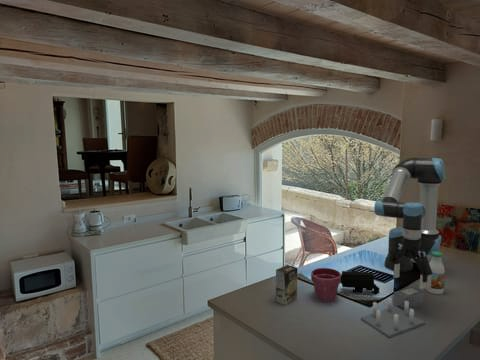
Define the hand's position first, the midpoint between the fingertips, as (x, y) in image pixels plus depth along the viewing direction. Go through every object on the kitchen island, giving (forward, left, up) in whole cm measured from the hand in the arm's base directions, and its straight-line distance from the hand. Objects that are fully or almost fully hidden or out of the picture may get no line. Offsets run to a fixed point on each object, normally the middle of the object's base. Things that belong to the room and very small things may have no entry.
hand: (409, 282), depth 158 cm
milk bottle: (-24, -4, -12) cm, 27 cm away
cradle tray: (+17, +6, -12) cm, 21 cm away
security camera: (+9, -21, -12) cm, 26 cm away
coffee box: (+46, -31, -12) cm, 57 cm away
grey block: (0, 0, -12) cm, 12 cm away
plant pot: (+28, -24, -12) cm, 39 cm away
